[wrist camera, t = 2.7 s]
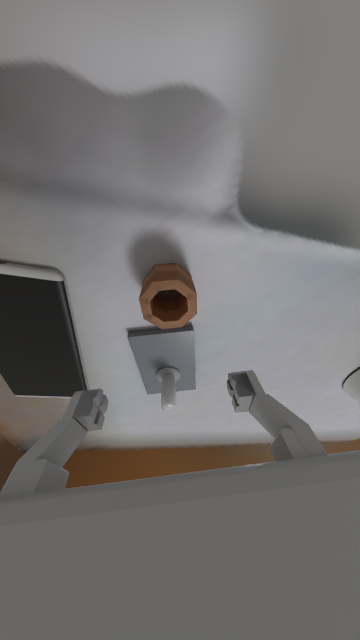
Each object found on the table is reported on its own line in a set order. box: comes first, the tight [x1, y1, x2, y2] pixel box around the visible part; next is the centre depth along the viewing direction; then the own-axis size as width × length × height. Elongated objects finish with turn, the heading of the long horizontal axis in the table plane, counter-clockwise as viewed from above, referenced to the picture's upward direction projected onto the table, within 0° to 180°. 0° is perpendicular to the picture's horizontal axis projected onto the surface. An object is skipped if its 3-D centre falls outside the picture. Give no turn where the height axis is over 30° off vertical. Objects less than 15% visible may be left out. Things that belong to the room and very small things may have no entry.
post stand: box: [128, 326, 196, 410], centre depth 28 cm, size 10×16×7 cm, turn 4°
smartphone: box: [0, 263, 89, 398], centre depth 27 cm, size 13×27×2 cm, turn 169°
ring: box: [139, 263, 197, 329], centre depth 20 cm, size 6×6×5 cm
